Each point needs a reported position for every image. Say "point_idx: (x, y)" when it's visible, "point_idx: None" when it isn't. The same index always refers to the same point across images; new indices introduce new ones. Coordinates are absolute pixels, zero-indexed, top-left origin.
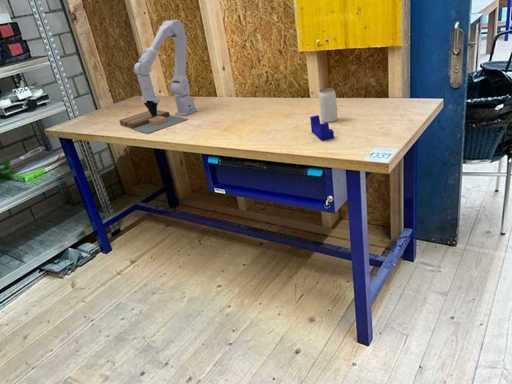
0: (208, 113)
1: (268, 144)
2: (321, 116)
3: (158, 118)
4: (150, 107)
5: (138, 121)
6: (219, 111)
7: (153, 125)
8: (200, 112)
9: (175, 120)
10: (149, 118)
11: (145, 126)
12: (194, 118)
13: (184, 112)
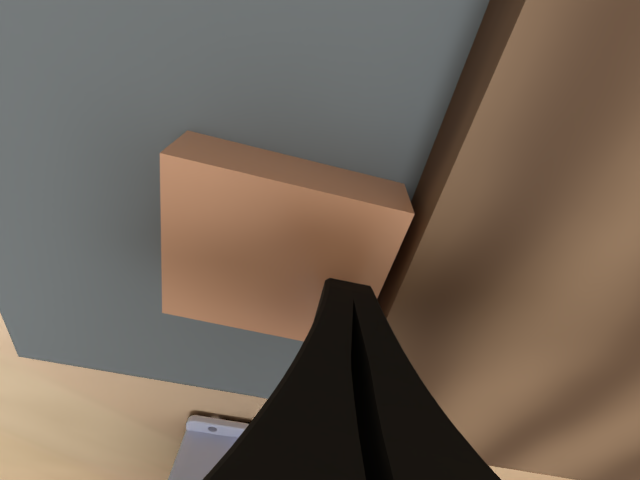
0: (43, 450)
1: None
2: None
3: (240, 270)
4: (249, 430)
5: (568, 56)
6: (12, 473)
7: (216, 111)
8: (140, 461)
9: (103, 311)
10: (420, 248)
11: (335, 30)
12: (10, 375)
13: (200, 447)
